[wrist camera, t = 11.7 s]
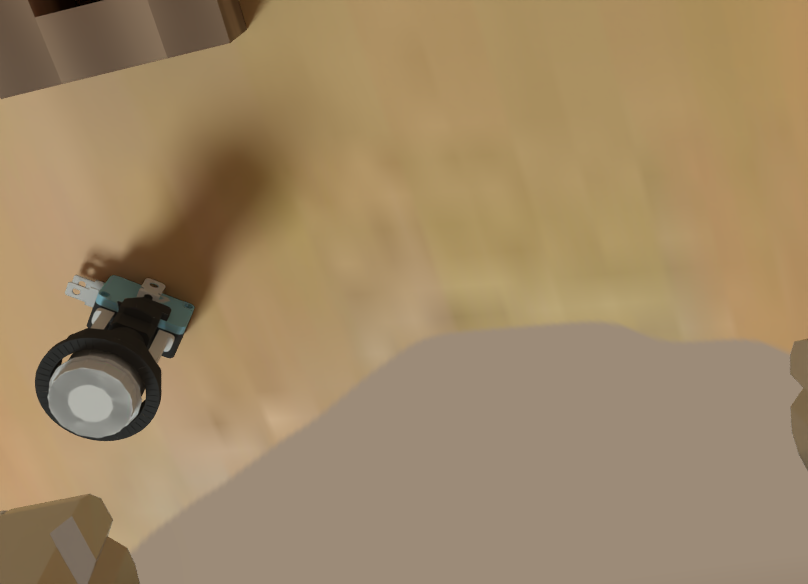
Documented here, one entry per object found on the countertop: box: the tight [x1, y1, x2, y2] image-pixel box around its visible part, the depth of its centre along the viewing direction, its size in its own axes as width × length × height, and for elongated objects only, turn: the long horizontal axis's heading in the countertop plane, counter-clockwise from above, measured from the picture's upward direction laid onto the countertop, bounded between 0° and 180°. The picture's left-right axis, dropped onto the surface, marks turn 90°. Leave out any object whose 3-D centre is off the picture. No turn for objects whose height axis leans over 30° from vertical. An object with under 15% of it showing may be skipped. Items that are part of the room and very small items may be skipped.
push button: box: [35, 275, 194, 441], centre depth 37 cm, size 7×5×10 cm
